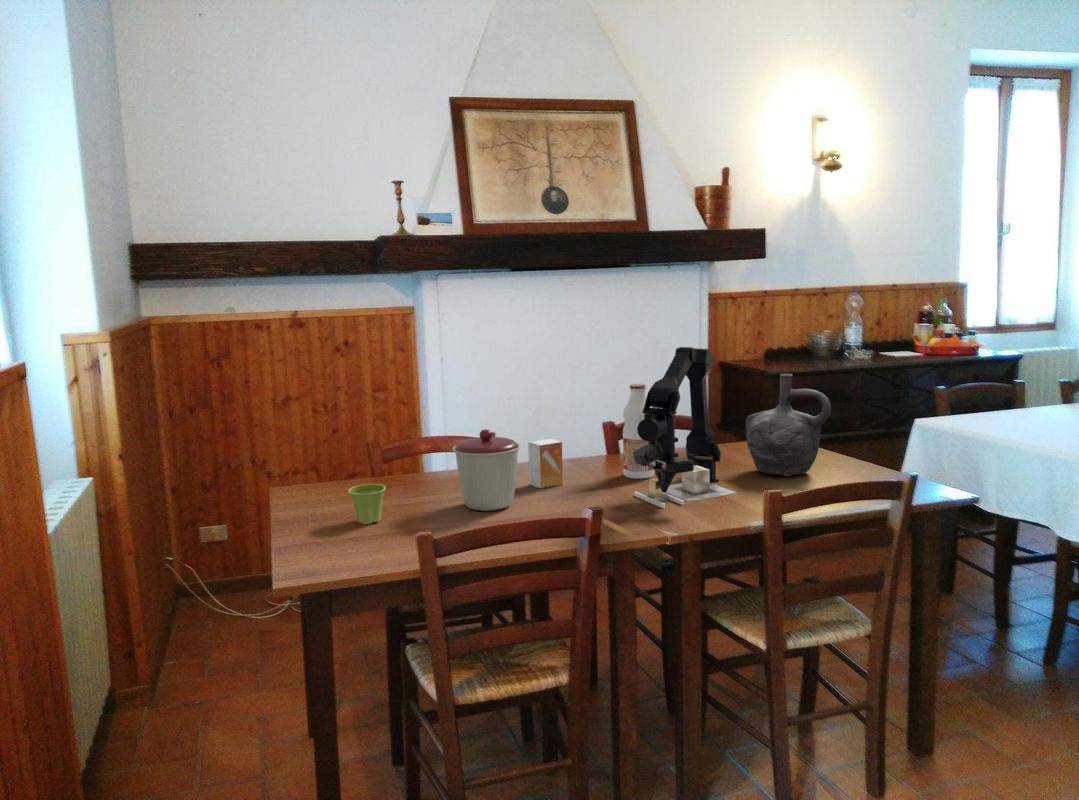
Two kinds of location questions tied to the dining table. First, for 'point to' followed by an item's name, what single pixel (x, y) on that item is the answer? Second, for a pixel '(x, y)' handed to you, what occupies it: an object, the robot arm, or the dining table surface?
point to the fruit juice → (634, 433)
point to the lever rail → (659, 501)
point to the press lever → (656, 490)
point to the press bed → (689, 496)
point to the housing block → (696, 480)
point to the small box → (545, 463)
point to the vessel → (786, 433)
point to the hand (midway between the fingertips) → (664, 491)
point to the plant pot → (367, 502)
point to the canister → (487, 471)
